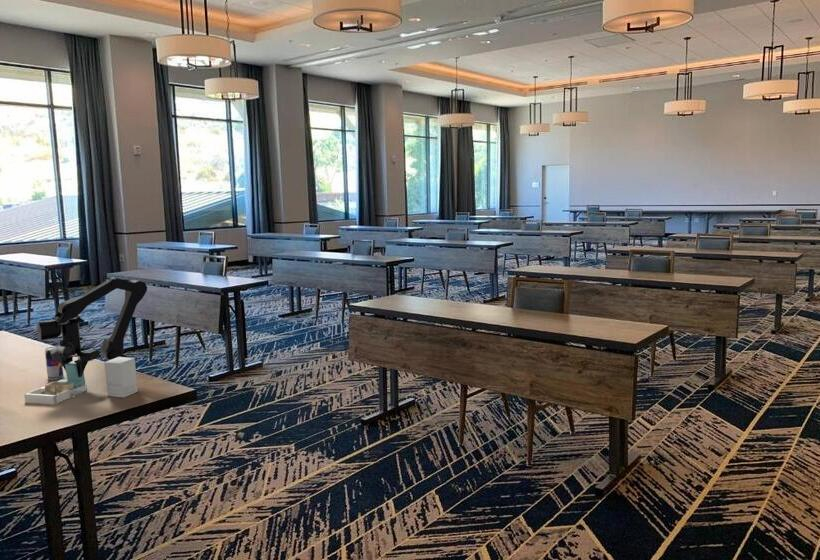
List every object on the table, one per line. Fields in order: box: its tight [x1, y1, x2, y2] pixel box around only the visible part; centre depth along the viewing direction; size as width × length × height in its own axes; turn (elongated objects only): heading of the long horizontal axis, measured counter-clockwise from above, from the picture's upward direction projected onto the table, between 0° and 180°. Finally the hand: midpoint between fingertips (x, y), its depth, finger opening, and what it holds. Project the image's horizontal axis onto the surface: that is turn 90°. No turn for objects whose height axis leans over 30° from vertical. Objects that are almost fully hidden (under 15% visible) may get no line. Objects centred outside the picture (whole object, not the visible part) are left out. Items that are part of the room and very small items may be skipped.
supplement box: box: [103, 356, 139, 398], centre depth 226 cm, size 7×7×13 cm
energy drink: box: [44, 346, 64, 381], centre depth 246 cm, size 5×5×12 cm
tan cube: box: [44, 381, 63, 395], centre depth 228 cm, size 4×4×4 cm
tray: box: [23, 387, 71, 405], centre depth 222 cm, size 12×7×3 cm, turn 78°
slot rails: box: [40, 383, 87, 398], centre depth 229 cm, size 13×8×2 cm, turn 78°
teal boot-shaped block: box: [57, 360, 87, 388], centre depth 233 cm, size 8×9×9 cm
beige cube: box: [56, 382, 74, 394], centre depth 227 cm, size 4×4×4 cm
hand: (75, 376), depth 235 cm, fingers closed on teal boot-shaped block, 4 cm apart
